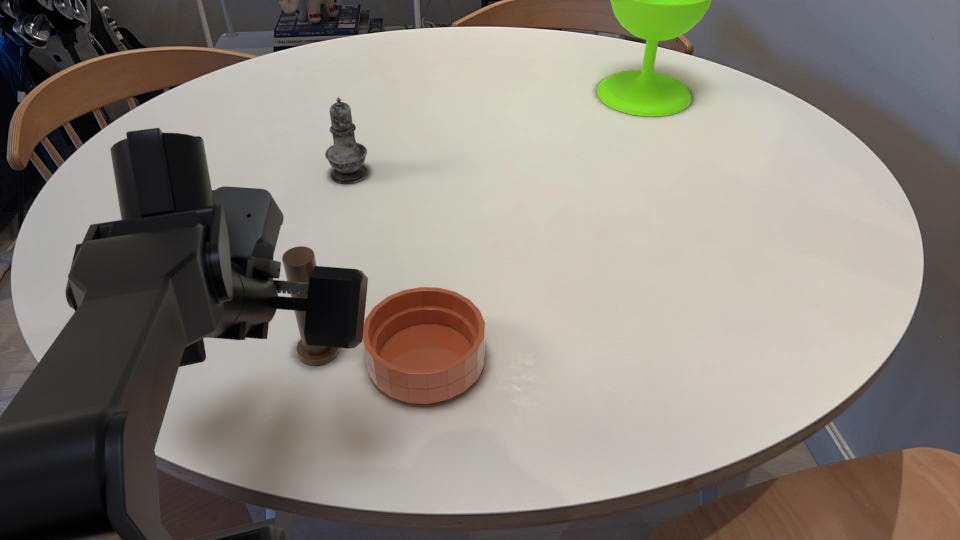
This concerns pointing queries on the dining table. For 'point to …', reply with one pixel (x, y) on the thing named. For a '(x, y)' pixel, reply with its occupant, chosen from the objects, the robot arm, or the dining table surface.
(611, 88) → the wineglass
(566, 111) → the dining table surface
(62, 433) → the robot arm
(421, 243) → the dining table surface
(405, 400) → the bowl
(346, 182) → the grey chess piece
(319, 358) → the brown cylinder
